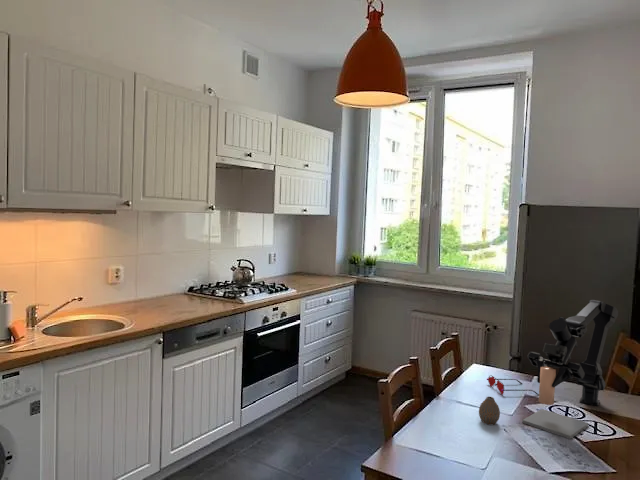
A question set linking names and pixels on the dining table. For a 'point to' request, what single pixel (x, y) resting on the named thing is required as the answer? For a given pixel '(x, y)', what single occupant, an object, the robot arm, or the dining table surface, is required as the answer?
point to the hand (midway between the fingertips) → (545, 384)
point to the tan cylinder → (547, 385)
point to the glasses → (500, 385)
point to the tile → (555, 423)
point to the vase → (489, 411)
